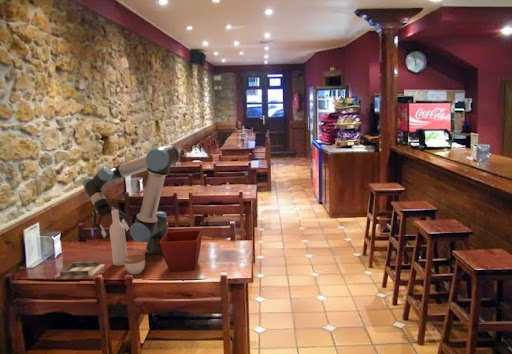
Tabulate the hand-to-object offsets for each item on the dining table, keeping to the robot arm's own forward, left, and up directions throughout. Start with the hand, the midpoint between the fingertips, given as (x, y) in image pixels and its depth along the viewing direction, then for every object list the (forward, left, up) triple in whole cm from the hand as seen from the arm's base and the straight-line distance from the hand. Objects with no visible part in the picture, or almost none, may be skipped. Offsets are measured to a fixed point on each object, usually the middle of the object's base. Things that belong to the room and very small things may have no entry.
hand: (116, 232), depth 258 cm
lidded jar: (-13, +14, -18) cm, 26 cm away
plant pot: (-37, +8, -18) cm, 42 cm away
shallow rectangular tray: (+17, +13, -17) cm, 27 cm away
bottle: (0, 0, -18) cm, 18 cm away
